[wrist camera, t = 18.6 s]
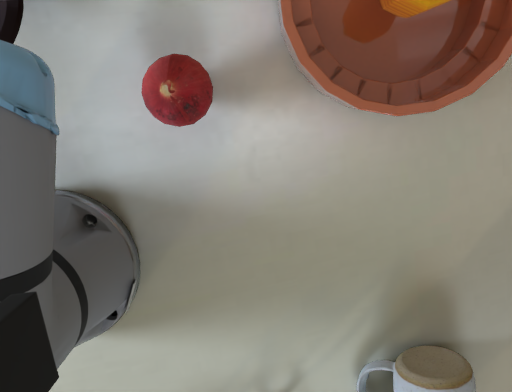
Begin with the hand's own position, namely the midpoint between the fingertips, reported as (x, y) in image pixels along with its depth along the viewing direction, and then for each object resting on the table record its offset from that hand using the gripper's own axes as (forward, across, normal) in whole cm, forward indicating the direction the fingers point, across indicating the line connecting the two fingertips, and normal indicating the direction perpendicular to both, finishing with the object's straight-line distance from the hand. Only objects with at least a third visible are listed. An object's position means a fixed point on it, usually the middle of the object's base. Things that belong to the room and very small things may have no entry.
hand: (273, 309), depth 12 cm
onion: (+31, -7, +7) cm, 32 cm away
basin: (+31, +12, +12) cm, 35 cm away
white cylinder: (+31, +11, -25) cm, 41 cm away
